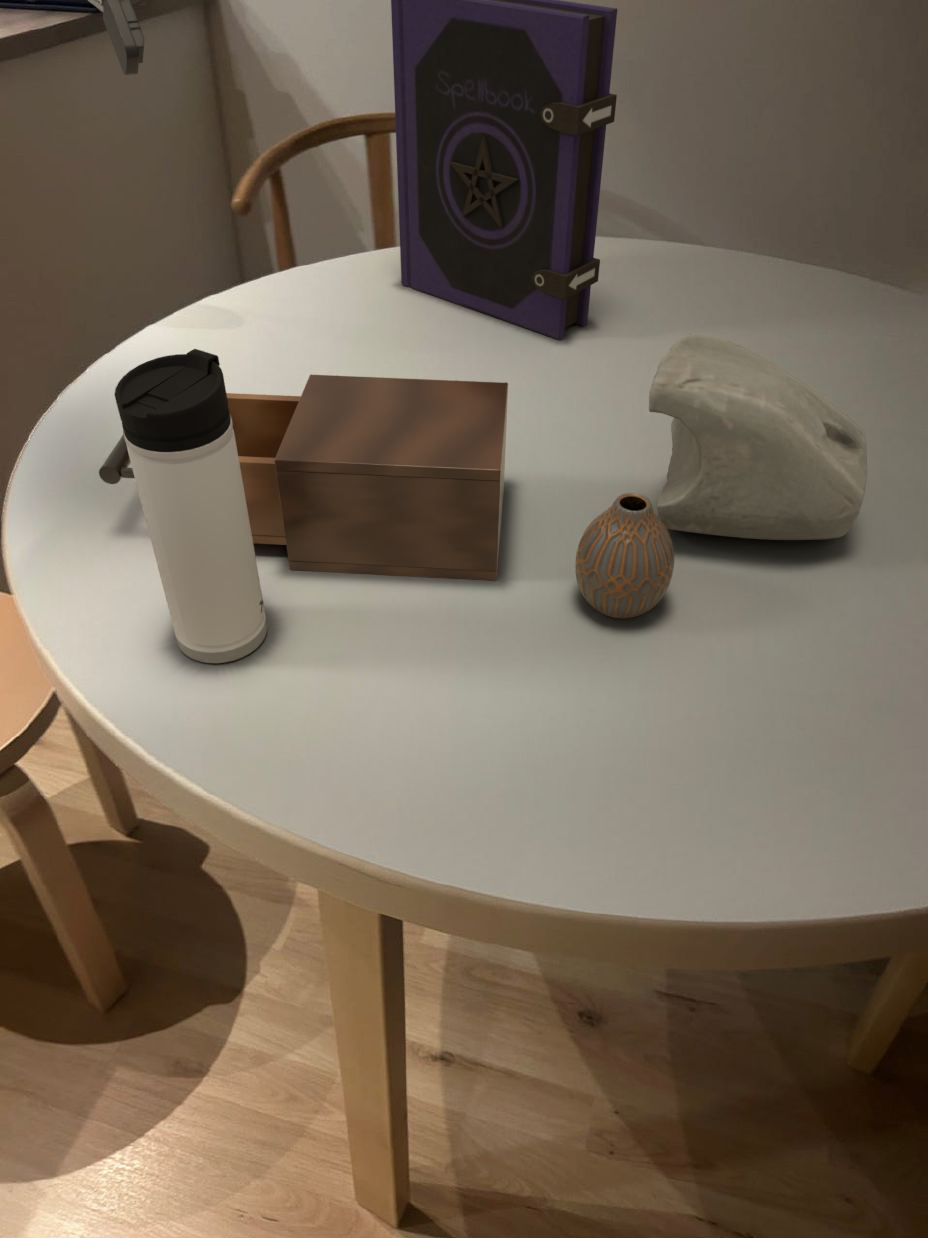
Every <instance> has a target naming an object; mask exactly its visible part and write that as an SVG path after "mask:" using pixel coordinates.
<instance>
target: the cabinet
mask: <svg viewBox="0 0 928 1238" xmlns="http://www.w3.org/2000/svg"><path fill="white" fill-rule="evenodd" d="M508 394H509V383H508V382H498V381H497V382H496V381H474V380H473V381H472V380H453V379H451V380H450V379H449V380H448V379H426V378H402V377H401V378H399V377H377V376H375V377H374V376H353V375H352V376H351V375H332V374H331V375H330V374H310V375H309V377H308V379H307V381H306V383H305V386H304V388H303V390H302V393H301V395H300V396H301V398H300V400H299V402H298V405H297V407H296V410H295V412H294V414H293V417H292V419H291V421H290V424H289V426H288V429H287V431H286V433H285V436H284V438H283V441H282V443H281V445H280V448H279V450H278V452H277V455H276V457H275V460H274V461H275V468H276V476H277V483H278V490H279V497H280V504H281V510H282V517H283V524H284V531H285V538H286V545H285V546H286V550H287V551H286V552H287V558H288V565H289V566H288V567H289V570H290V571H299V572H300V571H303V572H318V573H319V572H321V573H339V574H360V575H376V576H379V575H380V576H398V577H413V578H414V577H415V578H416V577H418V578H433V579H434V578H436V579H453V580H474V581H493V582H494V581H495V582H497V579H498V569H499V557H500V556H499V554H500V541H501V530H502V529H501V528H502V519H503V518H502V515H503V503H504V493H505V492H504V490H505V472H506V471H505V469H506V449H507V448H506V447H507V446H506V445H507V422H508V396H509V395H508Z"/></svg>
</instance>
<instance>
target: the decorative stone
mask: <svg viewBox="0 0 928 1238" xmlns="http://www.w3.org/2000/svg"><path fill="white" fill-rule="evenodd" d="M648 398H649V399H648V412H650V413H657V414H663V415H666V416H668V417H671V418H672V420H671V424H670V432H671V444H672V445H671V446H672V447H671V456H670V460H669V464H668V468H667V469H668V470H667V474H666V484H665V485H664V486H663V488H662V491H660V494H659V497H658V498H657V513H658V518H659V519H660V520H661V522H662V523H663V524H664V526H665V527H666V529H667V530H672V531H680V532H687V533H693V534H694V533H696V534H703V535H711V536H720V537H728V538H741V539H753V540H769V541H770V540H772V541H812V540H813V541H814V540H830V539H831V540H832V539H838V538H839V539H840V538H842V537H844V536H845V535H846V534H847V533H848V532H849V531H850V529H851V528H852V527H853V525H854V523H856V520H857V518H858V516H859V514H860V512H861V508H862V505H863V502H864V498H865V494H866V487H867V480H868V479H867V478H868V442H867V441H868V440H867V433H866V430H865V428H864V427H863V426H862V425H860V424H859V423H858V422H857V421H856V420H855V419H854V418H853V417H851V416H850V415H849V414H848V413H846V411H844V410H843V409H842V408H840V406H839V405H837V404H836V403H834V402H833V400H830V398H828V397H826V396H825V395H824V394H822V393H821V392H820V391H818V390H817V389H815V388H814V387H813V386H811V385H810V384H808V383H807V382H805V381H804V380H802V379H801V378H799V377H798V376H796V375H795V374H793V373H791V372H790V371H788V370H787V369H785V368H784V367H782V366H780V365H779V364H777V363H775V362H773V361H772V360H770V359H769V358H766V357H765V356H764V355H761V354H759V353H758V352H756V351H754V350H752V349H750V348H747V347H745V346H744V345H741V344H739V343H736V342H734V341H730V340H726V339H722V338H719V337H714V336H711V335H705V334H700V333H692V334H688V335H686V336H684V337H682V338H680V339H679V340H677V341H676V342H675V343H674V344H672V346H671V347H670V348H669V351H668V352H666V353H665V354H664V355H663V357H662V358H661V359H660V361H659V363H658V366H657V371H656V373H655V375H654V376H653V379H652V383H651V387H650V389H649V395H648Z"/></svg>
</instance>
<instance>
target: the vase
mask: <svg viewBox="0 0 928 1238" xmlns="http://www.w3.org/2000/svg"><path fill="white" fill-rule="evenodd" d="M674 568H675V550H674V544H673V541H672V538H671V535H670V533H669V531H668V529H666V527H665V526H664V524H663V523H662V522H661V520H660V518H659V516H658V515H657V514H656V512H655V511H654V508H653V505H652V503H651V501H650V499H649V498H648V497H647V496H645V495H643V494H640V493H634V492H627V493H623V494H620V495H619V496H617V497H616V498H615V500H614V501H613V503H612V504H611V506H610V507H608V508H607V509H606V510H604V511H602V512H601V513H600V514H598V515H597V516H596V517H595V518H594V519H593V520H592V521H591V522H590V523H589V524H588V526H587V527H586V528H585V530H584V532H583V534H582V536H581V538H580V540H579V543H578V546H577V549H576V555H575V577H576V582H577V585H578V589H579V591H580V593H581V595H582V597H583V598H584V599H585V601H586V602H587V603H588V604H589V605H590V606H591V607H592V608H593V609H595V610H596V611H597V612H599V613H601V614H603V615H605V616H607V617H609V618H613V619H632V618H635V617H638V616H641V615H644V614H645V613H647V612H649V611H650V610H651V609H653V608H654V607H655V606H657V605H658V603H659V602H660V601H661V600H662V598H663V597H664V596H665V594H666V593H667V590H668V588H669V587H670V584H671V580H672V577H673V573H674V570H675V569H674Z"/></svg>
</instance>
